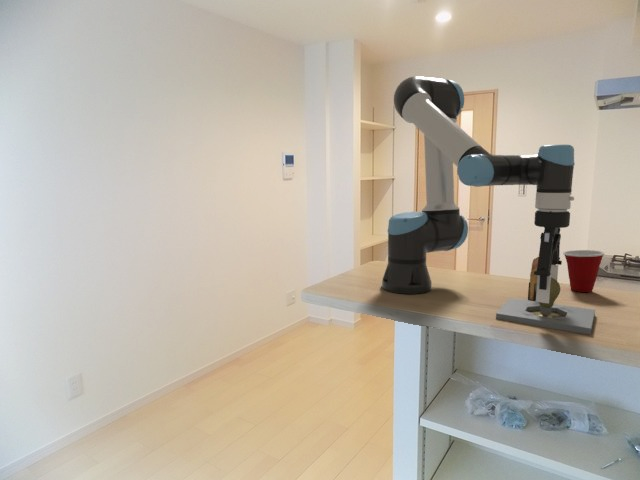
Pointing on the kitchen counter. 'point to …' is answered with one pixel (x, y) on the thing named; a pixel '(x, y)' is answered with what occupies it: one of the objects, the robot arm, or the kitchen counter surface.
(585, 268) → the plastic cup
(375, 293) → the kitchen counter surface
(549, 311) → the light bulb
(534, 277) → the ammunition clip
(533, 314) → the socket plate
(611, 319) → the kitchen counter surface
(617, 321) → the kitchen counter surface
